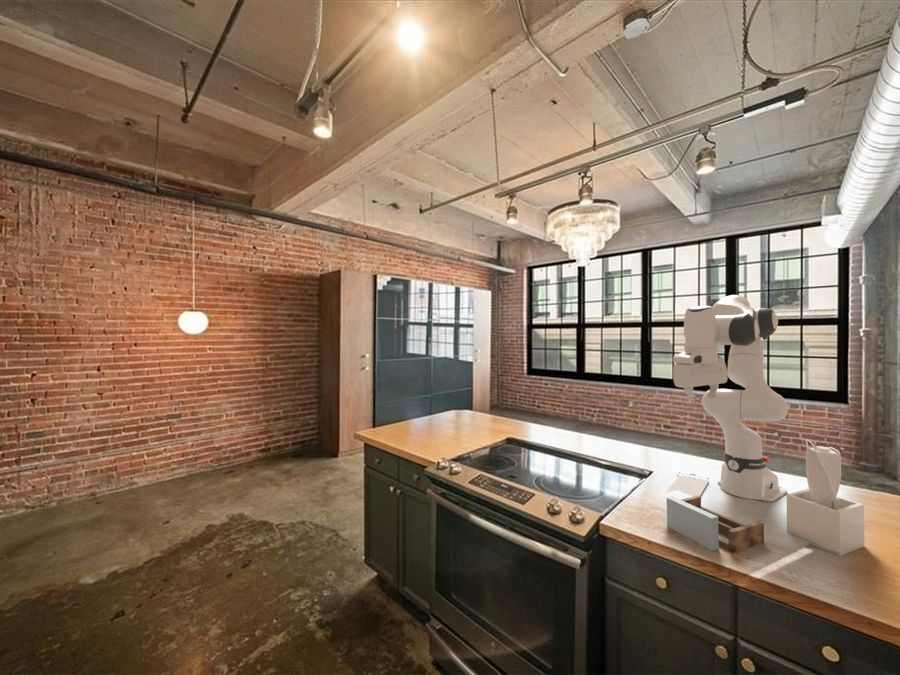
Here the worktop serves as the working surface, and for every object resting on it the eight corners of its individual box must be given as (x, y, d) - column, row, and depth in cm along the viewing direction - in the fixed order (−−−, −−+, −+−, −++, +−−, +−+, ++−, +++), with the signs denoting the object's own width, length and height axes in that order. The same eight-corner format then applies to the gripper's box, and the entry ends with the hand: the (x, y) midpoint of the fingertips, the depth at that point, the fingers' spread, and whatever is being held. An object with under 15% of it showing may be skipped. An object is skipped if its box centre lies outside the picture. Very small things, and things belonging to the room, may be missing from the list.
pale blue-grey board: (673, 527, 116) (672, 496, 115) (718, 552, 102) (718, 516, 102) (667, 529, 115) (666, 497, 115) (712, 554, 102) (712, 518, 101)
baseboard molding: (654, 502, 135) (692, 512, 127) (654, 494, 135) (692, 504, 127) (675, 477, 158) (709, 484, 150) (675, 470, 158) (708, 477, 150)
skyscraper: (798, 533, 110) (796, 440, 110) (813, 527, 113) (811, 436, 113) (836, 548, 102) (834, 448, 102) (851, 541, 105) (849, 444, 105)
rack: (697, 516, 123) (697, 495, 123) (764, 547, 105) (763, 522, 105) (669, 524, 119) (668, 502, 119) (733, 557, 100) (732, 532, 100)
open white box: (810, 526, 115) (810, 488, 115) (864, 546, 104) (863, 504, 104) (787, 534, 111) (786, 494, 111) (840, 556, 100) (839, 512, 100)
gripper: (713, 354, 125) (714, 394, 125) (668, 357, 118) (670, 400, 118) (732, 355, 119) (733, 397, 119) (687, 358, 112) (688, 404, 112)
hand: (701, 399), depth 118 cm, fingers open, 8 cm apart
